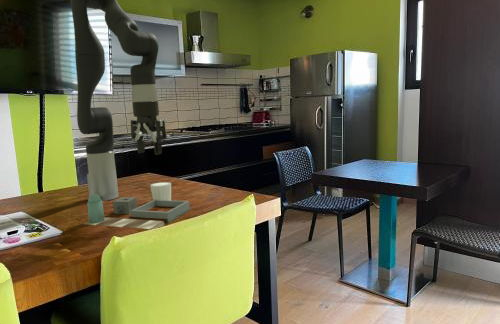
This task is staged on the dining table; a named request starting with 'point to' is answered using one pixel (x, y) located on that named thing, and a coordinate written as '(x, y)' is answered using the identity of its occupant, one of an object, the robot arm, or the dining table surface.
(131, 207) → the dice cube
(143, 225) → the track
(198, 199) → the dining table surface
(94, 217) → the pawn
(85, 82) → the robot arm
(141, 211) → the tray
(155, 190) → the shot glass
